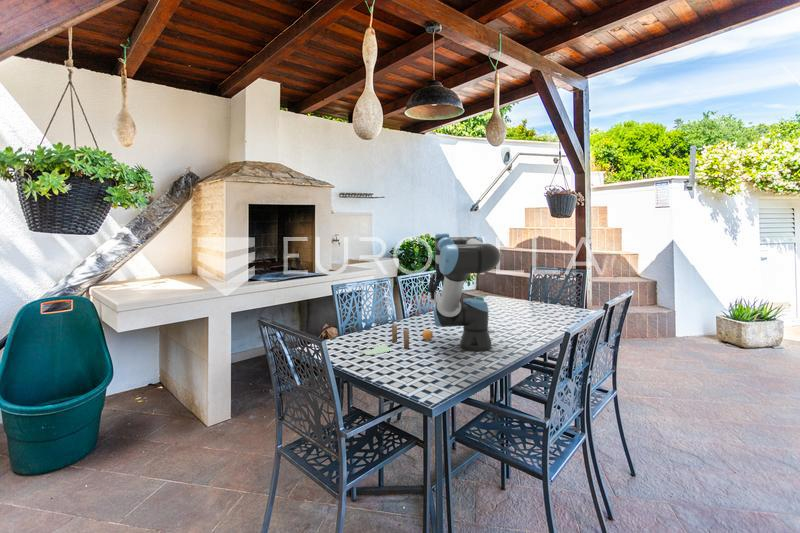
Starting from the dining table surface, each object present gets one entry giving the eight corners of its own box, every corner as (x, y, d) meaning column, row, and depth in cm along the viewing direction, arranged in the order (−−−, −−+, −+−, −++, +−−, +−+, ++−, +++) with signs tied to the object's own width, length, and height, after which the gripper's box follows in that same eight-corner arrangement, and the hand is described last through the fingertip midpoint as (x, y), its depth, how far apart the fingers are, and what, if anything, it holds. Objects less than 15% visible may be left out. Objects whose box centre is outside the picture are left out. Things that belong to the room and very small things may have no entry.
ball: (434, 340, 198) (434, 330, 197) (425, 342, 195) (425, 331, 195) (429, 338, 203) (429, 327, 202) (420, 339, 200) (420, 329, 200)
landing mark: (394, 350, 182) (394, 350, 182) (367, 355, 176) (367, 355, 176) (381, 343, 195) (381, 343, 195) (356, 347, 188) (356, 347, 188)
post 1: (398, 341, 197) (397, 324, 196) (393, 342, 196) (393, 325, 195) (395, 340, 199) (395, 323, 198) (391, 341, 198) (391, 324, 197)
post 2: (410, 348, 186) (409, 330, 185) (405, 349, 184) (405, 330, 184) (407, 346, 188) (407, 329, 187) (402, 347, 187) (402, 329, 186)
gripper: (456, 261, 209) (456, 301, 211) (420, 263, 198) (420, 305, 200) (464, 262, 202) (464, 303, 204) (427, 264, 191) (428, 307, 193)
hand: (442, 304), depth 202 cm, fingers open, 10 cm apart
